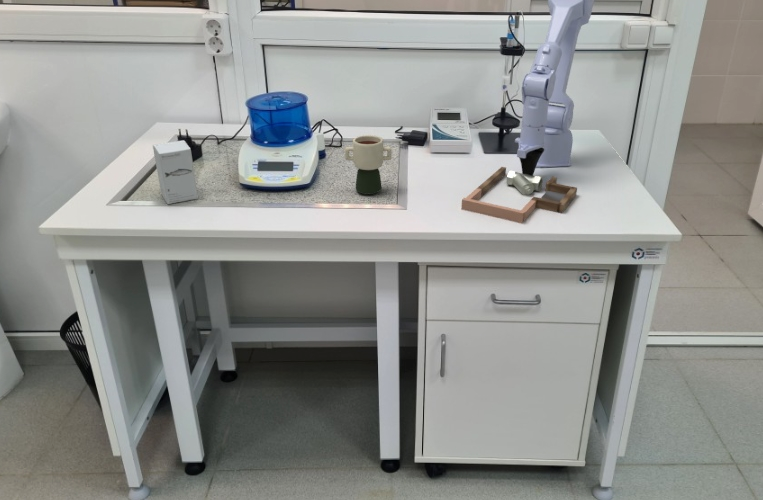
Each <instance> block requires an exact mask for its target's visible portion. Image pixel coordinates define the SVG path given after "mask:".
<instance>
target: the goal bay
mask: <svg viewBox="0 0 763 500" xmlns="http://www.w3.org/2000/svg"><path fill="white" fill-rule="evenodd" d="M481 191H482V189H479V188H478V187H476V188H475V189H474V190H473V191H472V192H471V193H469V194H468V195H467V196H466V197H463V198H462V199H461V206H460V207H461V210H464V211H467V212H471V213H476V214H480V215H485V216H488V217H493V218H498V219H502V220H506V221H509V222H514V223H519V224H523V223H524V222H525V221H526V220H527V218H529V216H530V215H531V214H532V213H533V212H534V211H535V210H536V208H535V204H536V201H534V200H531V199H530V200H529V201H528V202H527V203H526V204H525V205H524V207H523V208H522V209H516V208H512V207H508V206H504V205H503V206H502V205H498V204H493V203H490V202H485V201H480V199H481Z"/></svg>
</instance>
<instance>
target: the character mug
mask: <svg viewBox="0 0 763 500" xmlns="http://www.w3.org/2000/svg"><path fill="white" fill-rule="evenodd" d="M350 152H352V156H351V155H350ZM384 152H386V155H385V156H384ZM344 158H345V160H346V161H353V164H354V167H355V168H357V171H356V179H355V190H356V191H357V192H358V193H360V194H364V195H373V194H376V193H378V192H380V191H381V190H382V188H383V187H382V179H381V172H380V170H379V169H380V168H381V167H382V166H383V163H384V161H390V160H392V147H390V146H384V139H383V137H380V136H378V135H371V134H366V135H365V134H364V135H359V136H356V137H354V138H353V139H352V146H346V147H344Z"/></svg>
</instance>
